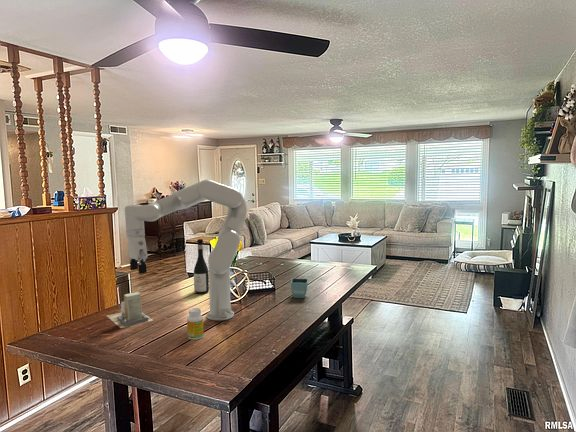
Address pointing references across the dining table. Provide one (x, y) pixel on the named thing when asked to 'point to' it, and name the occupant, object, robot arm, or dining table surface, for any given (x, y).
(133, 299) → the skincare box
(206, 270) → the wine bottle
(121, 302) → the steel pin
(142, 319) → the board
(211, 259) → the robot arm
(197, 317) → the supplement bottle
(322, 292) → the dining table surface
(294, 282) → the flower pot
